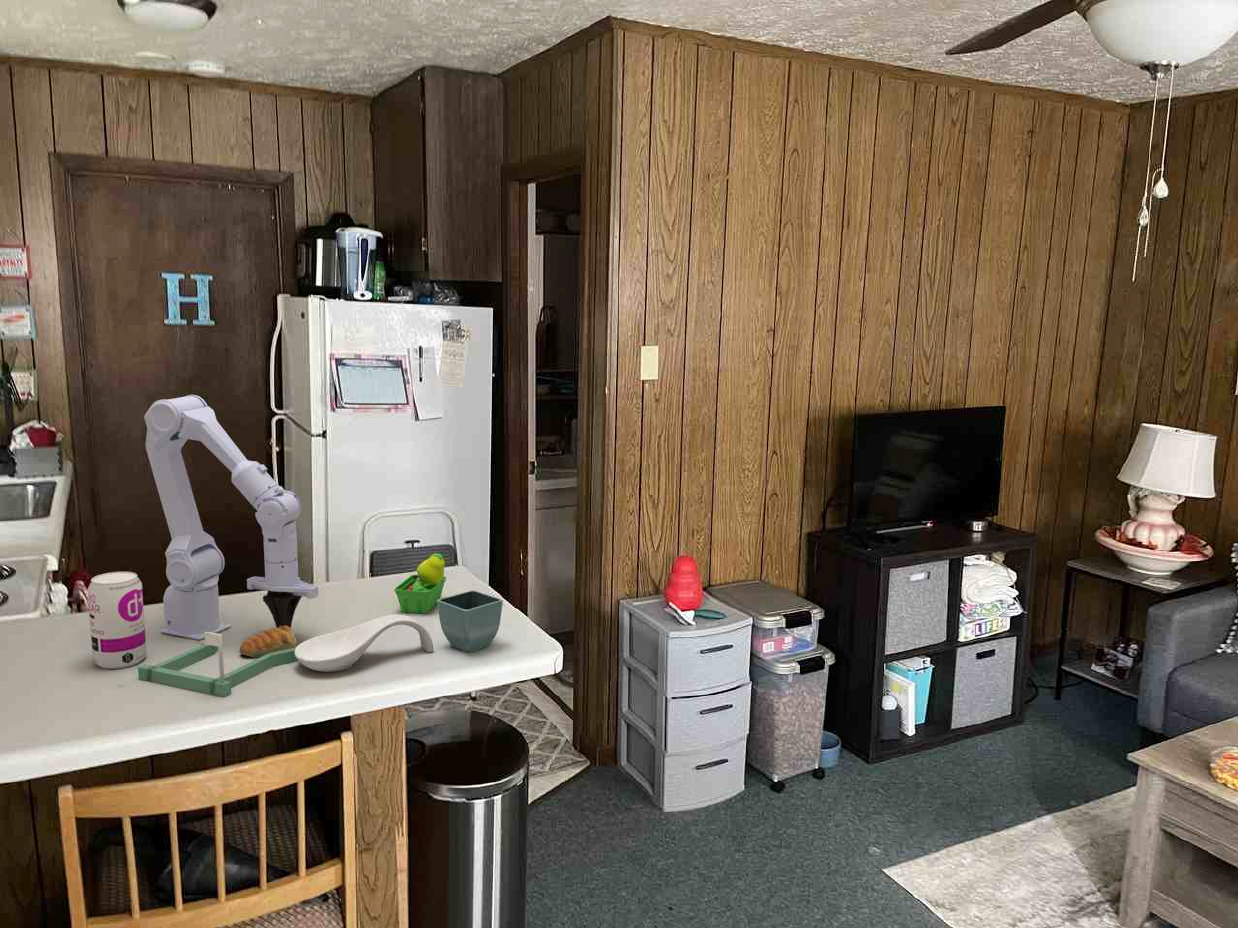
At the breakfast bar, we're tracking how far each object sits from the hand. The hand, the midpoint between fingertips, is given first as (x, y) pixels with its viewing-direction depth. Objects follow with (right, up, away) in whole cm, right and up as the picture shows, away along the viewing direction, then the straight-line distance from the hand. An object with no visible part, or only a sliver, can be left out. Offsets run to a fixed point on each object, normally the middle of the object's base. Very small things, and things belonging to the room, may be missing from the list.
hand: (284, 630), depth 181 cm
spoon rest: (+17, -4, -9) cm, 20 cm away
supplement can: (-24, -4, -12) cm, 27 cm away
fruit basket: (+22, +1, +20) cm, 30 cm away
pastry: (-1, -3, -5) cm, 6 cm away
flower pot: (+35, -3, -2) cm, 35 cm away
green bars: (-6, -4, -15) cm, 16 cm away
